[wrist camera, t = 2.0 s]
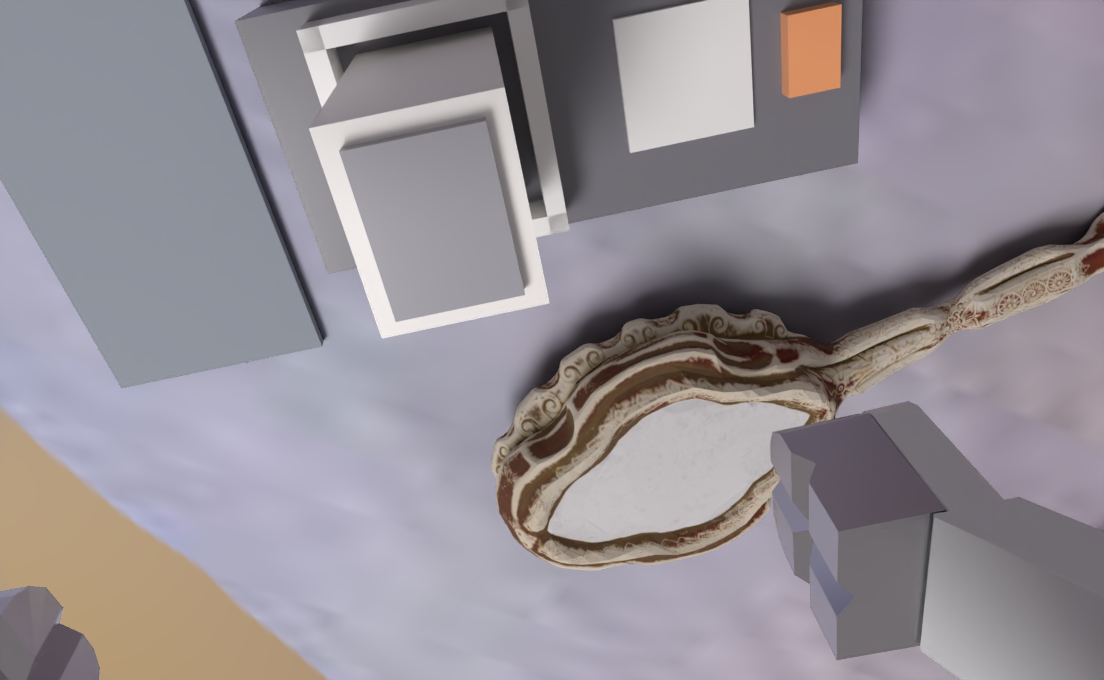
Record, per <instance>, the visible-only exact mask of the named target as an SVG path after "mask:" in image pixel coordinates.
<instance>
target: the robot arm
mask: <svg viewBox="0 0 1104 680" xmlns="http://www.w3.org/2000/svg"><path fill="white" fill-rule="evenodd" d="M770 458H771V463H772V465H773V466H774V468H775V470H776V472H777V474H778V476H779V478H780V481H779V482H778V484H777V485H776V487H775V488H774V489H773V491H772V498H773V511H774V518H775V522H776V527H777V531H778V536H779V539H780V542H781V545H782V548H783V550H784V553H785V556H786V558H787V560H788V562H789V564H790V566H791V569H792V571H793V573H794V575H796V576H798V577H799V578H801V579H803V580H804V581H806V582H808V583H809V584H810V608H811V610H812V612H813V614H814V616H815V618H816V620H817V622H818V624H819V626H820V628H821V630H822V632H823V634H824V636H825V638H826V640H827V642H828V644H829V646H830V648H831V650H832V652H833V654H834V656H835V658H836V660H841V659H846V658H852V657H858V656H863V655H869V654H875V653H880V652H886V651H892V650H897V649H903V648H909V647H914V646H920V650H921V651H922V652H924V653H925V654H926V655H928V656H929V657H930V658H932V659H933V660H935V661H936V662H937V663H939V664H940V665H941V666H943V667H944V668H945V669H947V670H948V671H950V672H951V673H952V674H954V675H955V676H956V677H958V678H959V679H961V680H1104V532H1103V531H1101V530H1099V529H1096V528H1094V527H1091V526H1089V525H1086V524H1084V523H1081V522H1079V521H1077V520H1074V519H1072V518H1069V517H1067V516H1064V515H1062V514H1059V513H1057V512H1055V511H1052V510H1050V509H1047V508H1045V507H1042V506H1040V505H1037V504H1035V503H1032V502H1030V501H1028V500H1025V499H1023V498H1020V497H1017V498H1012V499H1007V500H1004V499H1003V498H1002V497H1001V496H1000V495H999V494H998V492H997V491H996V490H995V489H994V488H993V487H992V486H991V485H990V484H989V483H988V481H987V480H986V479H985V478H984V477H983V476H982V475H981V474H980V473H979V472H978V471H977V469H976V468H975V467H974V466H973V465H972V464H971V463H970V462H969V461H968V460H967V459H966V457H965V456H964V455H963V454H962V453H961V452H960V451H959V450H958V449H957V448H956V447H955V445H954V444H953V443H952V442H951V441H950V440H949V439H948V438H947V437H946V436H945V435H944V433H943V432H942V431H941V430H940V429H939V428H938V427H937V426H936V425H935V424H934V422H933V421H932V420H931V419H930V418H929V417H928V416H927V415H926V414H925V413H924V412H923V410H922V409H921V408H920V407H919V406H918V405H916V404H913V403H911V402H909V401H907V402H903V403H899V404H894V405H890V406H886V407H881V408H877V409H873V410H868V411H864V412H863V413H862V414H855V415H850V416H845V417H841V418H836V419H831V420H827V421H822V422H817V423H813V424H808V425H803V426H799V427H794V428H789V429H784V430H780V431H775V432H772V436H771V441H770ZM62 610H63V607H62V606H61V605H60V603H59V602H58V601H57V600H56V598H55V597H54V596H53V595H52V594H51V593H50V592H49V590H48V589H47V588H45V587H33V586H27V587H21V588H16V589H10V590H5V591H0V680H99V670H100V667H99V664H98V661H97V658H96V654H95V651H94V649H93V647H92V646H91V644H90V643H89V641H88V640H87V639H86V637H85V636H84V635H83V634H82V633H79V632H77V631H75V630H73V629H71V628H69V627H66V626H64V625H62V624H60V620H61V615H62Z"/></svg>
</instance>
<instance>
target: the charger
mask: <svg viewBox="0 0 1104 680" xmlns="http://www.w3.org/2000/svg"><path fill="white" fill-rule="evenodd" d="M309 131H310V133H311V136H312V139H313V142H314V145H315V148H316V151H317V154H318V156H319V159H320V162H321V165H322V168H323V171H324V174H325V177H326V179H327V182H328V185H329V188H330V191H331V194H332V197H333V200H334V202H335V205H336V208H337V211H338V214H339V217H340V220H341V223H342V225H343V228H344V231H345V234H346V237H347V240H348V243H349V246H350V248H351V251H352V254H353V257H354V260H355V263H356V266H357V268H358V271H359V274H360V277H361V280H362V283H363V286H364V289H365V291H366V294H367V297H368V300H369V303H370V306H371V309H372V312H373V314H374V317H375V320H376V323H377V326H378V329H379V332H380V335H381V337H382V338H386V337H391V336H396V335H401V334H406V333H410V332H415V331H420V330H425V329H429V328H434V327H439V326H444V325H449V324H453V323H458V322H463V321H468V320H473V319H477V318H482V317H487V316H492V315H496V314H501V313H506V312H511V311H516V310H520V309H525V308H530V307H535V306H539V305H544V304H549V299H548V294H547V289H546V284H545V279H544V275H543V270H542V265H541V260H540V255H539V251H538V246H537V241H536V236H535V231H534V227H533V222H532V217H531V212H530V207H529V202H528V198H527V193H526V188H525V183H524V178H523V174H522V169H521V164H520V159H519V154H518V150H517V145H516V140H515V135H514V130H513V125H512V121H511V116H510V111H509V106H508V101H507V97H506V92H505V87H504V82H503V78H502V73H501V69H500V64H499V59H498V55H497V50H496V45H495V41H494V36H493V32H492V27H491V26H489V27H484V28H479V29H474V30H470V31H465V32H460V33H455V34H451V35H446V36H441V37H436V38H432V39H427V40H422V41H418V42H413V43H408V44H403V45H399V46H394V47H389V48H384V49H380V50H375V51H370V52H365V53H361V54H356V55H355V57H354V59H353V60H352V62H351V63H350V65H349V66H348V68H347V69H346V71H345V73H344V74H343V76H342V77H341V79H340V80H339V82H338V84H337V85H336V87H335V88H334V90H333V91H332V93H331V94H330V96H329V98H328V99H327V101H326V102H325V104H324V105H323V107H322V109H321V110H320V112H319V113H318V115H317V116H316V118H315V120H314V121H313V123H312V124H311V126H310V127H309Z"/></svg>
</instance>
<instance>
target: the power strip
mask: <svg viewBox="0 0 1104 680" xmlns="http://www.w3.org/2000/svg"><path fill="white" fill-rule="evenodd" d="M862 6H863V0H290V1H286V2H281V3H276V4H272V5H267V6H262V7H258V8H257V9H255V10H253V11H251V12H250V13H248V14H246V15H245V16H243V17H241V18H239V19H238V20H236V21H235V24H236V26H237V29H238V32H239V34H240V37H241V40H242V43H243V45H244V48H245V51H246V53H247V56H248V59H249V61H250V64H251V67H252V69H253V72H254V75H255V78H256V80H257V83H258V86H259V88H260V91H261V94H262V96H263V99H264V102H265V104H266V107H267V110H268V113H269V115H270V118H271V121H272V123H273V126H274V129H275V131H276V134H277V137H278V139H279V142H280V145H281V148H282V150H283V153H284V156H285V158H286V161H287V164H288V166H289V169H290V172H291V174H292V177H293V180H294V183H295V185H296V188H297V191H298V193H299V196H300V199H301V201H302V204H303V207H304V209H305V212H306V215H307V218H308V220H309V223H310V226H311V228H312V231H313V234H314V236H315V239H316V242H317V244H318V247H319V250H320V252H321V255H322V258H323V261H324V263H325V266H326V269H327V271H328V274H331V273H335V272H340V271H345V270H350V269H354V268H357V266H356V263H355V260H354V257H353V254H352V251H351V248H350V246H349V243H348V240H347V237H346V234H345V231H344V228H343V225H342V223H341V220H340V217H339V214H338V211H337V208H336V205H335V202H334V200H333V197H332V194H331V191H330V188H329V185H328V182H327V179H326V177H325V174H324V171H323V168H322V165H321V162H320V159H319V156H318V154H317V151H316V148H315V145H314V142H313V139H312V136H311V133H310V131H309V127H310V126H311V124H312V123H313V121H314V120H315V118H316V116H317V115H318V113H319V112H320V110H321V109H322V107H323V105H324V104H325V102H326V101H327V99H328V98H329V96H330V94H331V93H332V91H333V90H334V88H335V87H336V85H337V84H338V82H339V80H340V79H341V77H342V76H343V74H344V73H345V71H346V69H347V68H348V66H349V65H350V63H351V62H352V60H353V59H354V57H355V55H356V54H361V53H365V52H370V51H375V50H380V49H384V48H389V47H394V46H399V45H403V44H408V43H413V42H418V41H422V40H427V39H432V38H436V37H441V36H446V35H451V34H455V33H460V32H465V31H470V30H474V29H479V28H484V27H489V26H491V27H492V32H493V36H494V41H495V45H496V50H497V55H498V59H499V64H500V69H501V73H502V78H503V82H504V87H505V92H506V97H507V101H508V106H509V111H510V116H511V121H512V125H513V130H514V135H515V140H516V145H517V150H518V154H519V159H520V164H521V169H522V174H523V178H524V183H525V188H526V193H527V198H528V202H529V207H530V212H531V217H532V222H533V227H534V231H535V236H536V237H540V236H545V235H550V234H555V233H559V232H564V231H569V230H570V229H569V223H574V222H579V221H583V220H588V219H593V218H598V217H603V216H607V215H612V214H617V213H622V212H626V211H631V210H636V209H641V208H645V207H650V206H655V205H660V204H665V203H669V202H674V201H679V200H684V199H688V198H693V197H698V196H703V195H707V194H712V193H717V192H722V191H727V190H731V189H736V188H741V187H746V186H750V185H755V184H760V183H765V182H769V181H774V180H779V179H784V178H789V177H793V176H798V175H803V174H808V173H812V172H817V171H822V170H827V169H831V168H836V167H841V166H846V165H851V164H855V163H858V143H859V109H860V75H861V40H862Z"/></svg>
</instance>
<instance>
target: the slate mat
mask: <svg viewBox="0 0 1104 680" xmlns="http://www.w3.org/2000/svg"><path fill="white" fill-rule="evenodd" d="M0 180H1V181H2V183H3V185H4V186H5V188H6V190H7V192H8V193H9V195H10V197H11V199H12V200H13V202H14V204H15V205H16V207H17V209H18V211H19V212H20V214H21V216H22V218H23V219H24V221H25V223H26V224H27V226H28V228H29V230H30V231H31V233H32V235H33V236H34V238H35V240H36V242H37V243H38V245H39V247H40V249H41V250H42V252H43V254H44V255H45V257H46V259H47V261H48V262H49V264H50V266H51V268H52V269H53V271H54V273H55V274H56V276H57V278H58V280H59V281H60V283H61V285H62V287H63V288H64V290H65V292H66V293H67V295H68V297H69V299H70V300H71V302H72V304H73V306H74V307H75V309H76V311H77V312H78V314H79V316H80V318H81V319H82V321H83V323H84V324H85V326H86V328H87V330H88V331H89V333H90V335H91V337H92V338H93V340H94V342H95V343H96V345H97V347H98V349H99V350H100V352H101V354H102V356H103V357H104V359H105V361H106V362H107V364H108V366H109V368H110V369H111V371H112V373H113V375H114V376H115V378H116V380H117V381H118V383H119V385H120V387H121V388H125V387H130V386H135V385H140V384H145V383H149V382H154V381H159V380H164V379H168V378H173V377H178V376H183V375H188V374H192V373H197V372H202V371H207V370H211V369H216V368H221V367H226V366H231V365H235V364H240V363H245V362H250V361H254V360H259V359H264V358H269V357H274V356H278V355H283V354H288V353H293V352H297V351H302V350H307V349H312V348H317V347H321V346H322V345H323V339H322V336H321V334H320V331H319V328H318V326H317V323H316V321H315V318H314V316H313V313H312V311H311V308H310V306H309V303H308V301H307V298H306V296H305V293H304V291H303V288H302V286H301V283H300V280H299V278H298V275H297V273H296V270H295V268H294V265H293V263H292V260H291V258H290V255H289V253H288V250H287V248H286V245H285V243H284V240H283V237H282V235H281V232H280V230H279V227H278V225H277V222H276V220H275V217H274V215H273V212H272V210H271V207H270V205H269V202H268V200H267V197H266V195H265V192H264V189H263V187H262V184H261V182H260V179H259V177H258V174H257V172H256V169H255V167H254V164H253V162H252V159H251V157H250V154H249V152H248V149H247V146H246V144H245V141H244V139H243V136H242V134H241V131H240V129H239V126H238V124H237V121H236V119H235V116H234V114H233V111H232V109H231V106H230V103H229V101H228V98H227V96H226V93H225V91H224V88H223V86H222V83H221V81H220V78H219V76H218V73H217V71H216V68H215V66H214V63H213V61H212V58H211V55H210V53H209V50H208V48H207V45H206V43H205V40H204V38H203V35H202V33H201V30H200V28H199V25H198V23H197V20H196V18H195V15H194V12H193V10H192V7H191V5H190V2H189V0H0Z"/></svg>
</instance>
